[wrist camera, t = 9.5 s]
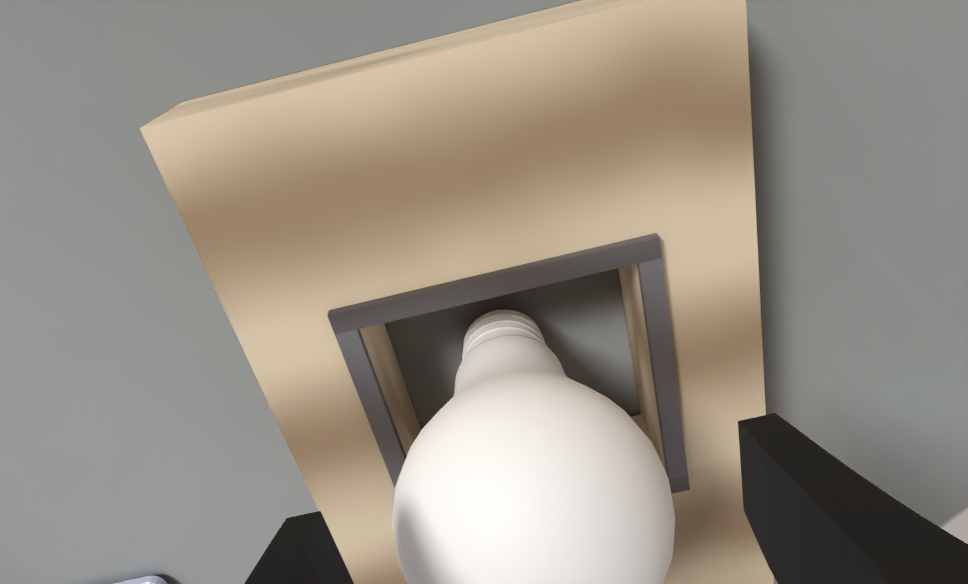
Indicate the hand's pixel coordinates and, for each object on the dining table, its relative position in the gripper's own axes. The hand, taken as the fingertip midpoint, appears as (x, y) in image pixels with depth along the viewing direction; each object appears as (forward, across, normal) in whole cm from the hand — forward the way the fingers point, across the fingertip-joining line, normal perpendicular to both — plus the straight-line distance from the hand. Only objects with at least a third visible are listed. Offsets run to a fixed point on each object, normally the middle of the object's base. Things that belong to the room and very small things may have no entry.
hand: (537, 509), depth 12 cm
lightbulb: (+11, 0, +3) cm, 11 cm away
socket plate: (+10, 0, +3) cm, 11 cm away
